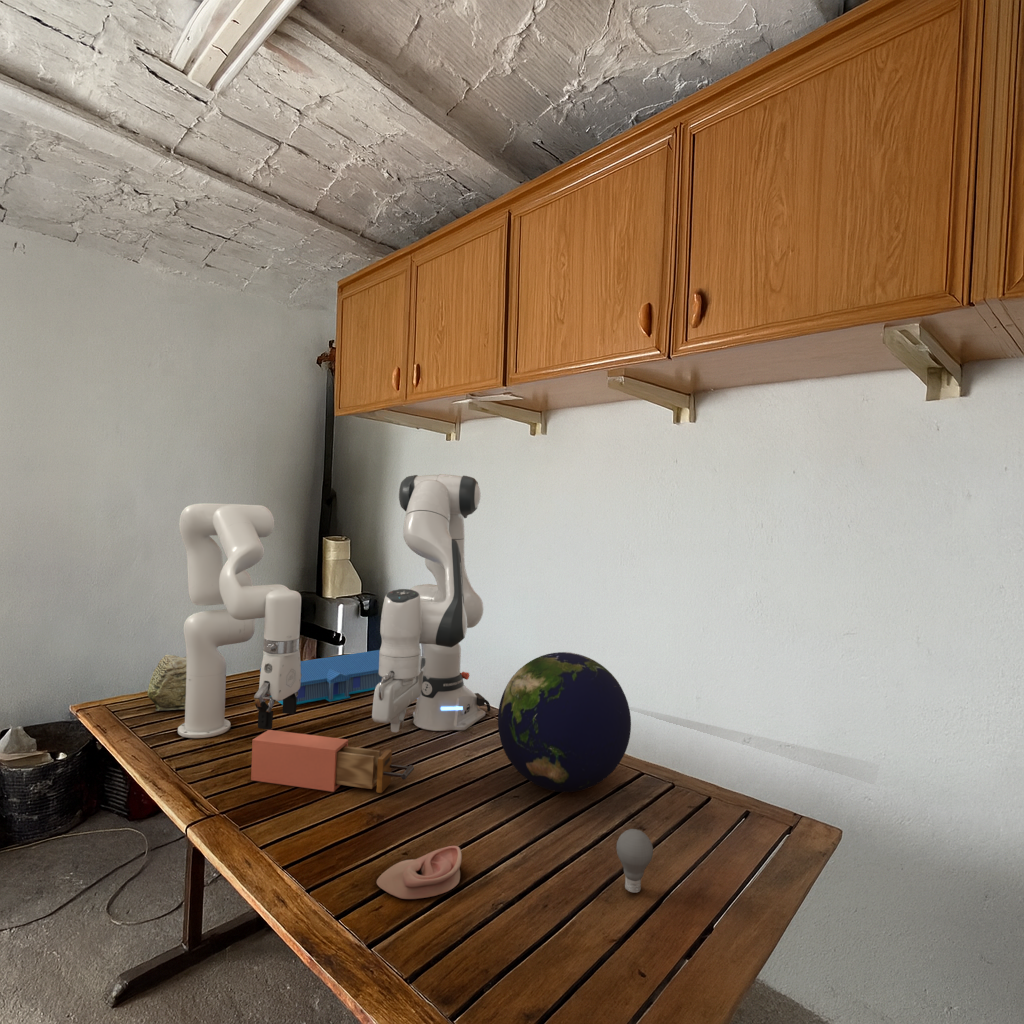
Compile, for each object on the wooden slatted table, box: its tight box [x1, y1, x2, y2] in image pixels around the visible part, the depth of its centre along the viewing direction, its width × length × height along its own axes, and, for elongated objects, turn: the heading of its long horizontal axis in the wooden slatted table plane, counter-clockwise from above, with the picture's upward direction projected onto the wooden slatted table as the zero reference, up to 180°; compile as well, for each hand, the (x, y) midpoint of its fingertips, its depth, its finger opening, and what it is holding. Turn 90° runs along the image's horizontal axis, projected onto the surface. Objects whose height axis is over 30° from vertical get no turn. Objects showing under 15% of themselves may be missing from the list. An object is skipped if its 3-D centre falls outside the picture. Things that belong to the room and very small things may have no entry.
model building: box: [259, 649, 382, 706], centre depth 208 cm, size 39×24×10 cm, turn 132°
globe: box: [497, 651, 632, 793], centre depth 143 cm, size 30×30×30 cm
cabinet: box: [250, 729, 349, 793], centre depth 141 cm, size 20×6×9 cm, turn 79°
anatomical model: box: [376, 845, 463, 900], centre depth 106 cm, size 13×4×12 cm
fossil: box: [147, 654, 187, 712], centre depth 185 cm, size 9×18×15 cm, turn 132°
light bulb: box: [615, 828, 654, 894], centre depth 106 cm, size 6×6×10 cm
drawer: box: [335, 745, 415, 794], centre depth 138 cm, size 24×5×7 cm, turn 79°
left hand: (277, 720), depth 143 cm, fingers open, 9 cm apart
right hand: (397, 729), depth 137 cm, fingers closed
